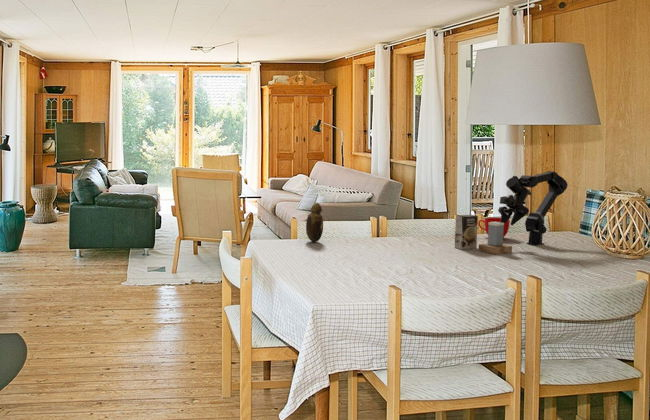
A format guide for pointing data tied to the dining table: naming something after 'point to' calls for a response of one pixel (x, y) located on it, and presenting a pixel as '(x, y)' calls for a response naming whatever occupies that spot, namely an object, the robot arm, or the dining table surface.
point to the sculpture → (315, 223)
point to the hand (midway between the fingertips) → (506, 225)
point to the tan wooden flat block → (495, 249)
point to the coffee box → (466, 231)
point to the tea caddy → (495, 233)
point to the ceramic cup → (506, 226)
